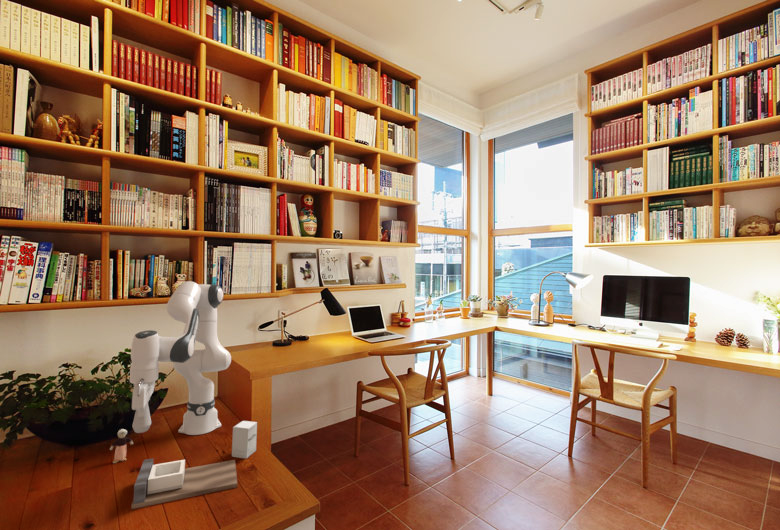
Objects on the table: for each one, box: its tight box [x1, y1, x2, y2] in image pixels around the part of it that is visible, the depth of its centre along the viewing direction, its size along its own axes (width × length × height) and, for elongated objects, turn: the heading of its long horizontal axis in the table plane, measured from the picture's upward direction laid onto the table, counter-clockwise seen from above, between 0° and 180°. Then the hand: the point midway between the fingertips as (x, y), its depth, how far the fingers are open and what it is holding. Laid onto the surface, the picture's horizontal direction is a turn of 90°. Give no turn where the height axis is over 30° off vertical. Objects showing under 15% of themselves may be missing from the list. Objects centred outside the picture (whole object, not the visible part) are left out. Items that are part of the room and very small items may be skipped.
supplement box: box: [231, 420, 258, 459], centre depth 157 cm, size 7×7×13 cm
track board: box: [130, 457, 238, 510], centre depth 134 cm, size 18×32×8 cm, turn 116°
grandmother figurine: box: [109, 428, 134, 464], centre depth 149 cm, size 8×4×13 cm, turn 143°
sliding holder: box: [147, 459, 186, 495], centre depth 131 cm, size 10×10×5 cm
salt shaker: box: [132, 395, 152, 434], centre depth 134 cm, size 6×6×13 cm
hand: (142, 413), depth 134 cm, fingers closed on salt shaker, 4 cm apart
